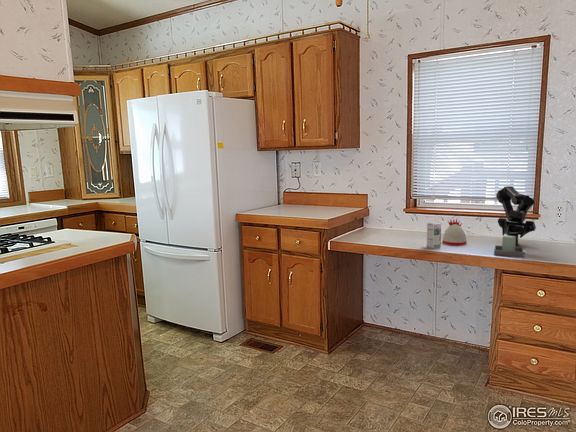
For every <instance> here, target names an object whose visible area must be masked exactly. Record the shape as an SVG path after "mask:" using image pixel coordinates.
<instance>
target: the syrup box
mask: <svg viewBox="0 0 576 432" xmlns="http://www.w3.org/2000/svg"><path fill="white" fill-rule="evenodd" d="M441 240H442V223H440V222H437V221H433V222H426V247H427V248H430V249H436V248H441V244H442V243H441Z"/></svg>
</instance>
